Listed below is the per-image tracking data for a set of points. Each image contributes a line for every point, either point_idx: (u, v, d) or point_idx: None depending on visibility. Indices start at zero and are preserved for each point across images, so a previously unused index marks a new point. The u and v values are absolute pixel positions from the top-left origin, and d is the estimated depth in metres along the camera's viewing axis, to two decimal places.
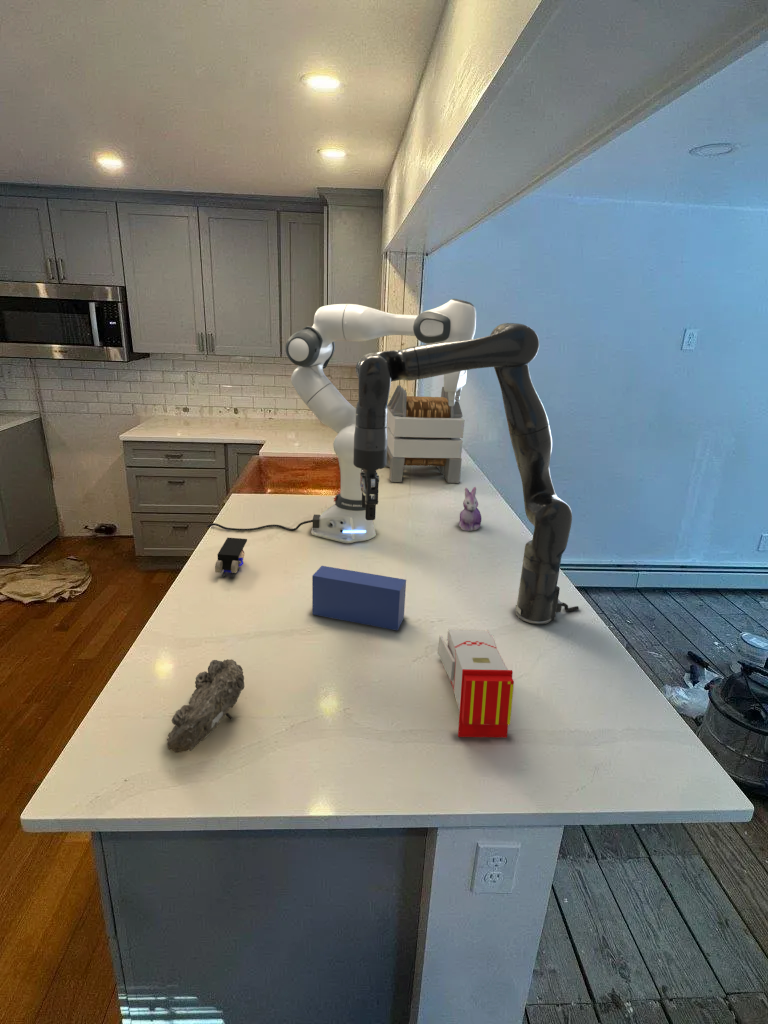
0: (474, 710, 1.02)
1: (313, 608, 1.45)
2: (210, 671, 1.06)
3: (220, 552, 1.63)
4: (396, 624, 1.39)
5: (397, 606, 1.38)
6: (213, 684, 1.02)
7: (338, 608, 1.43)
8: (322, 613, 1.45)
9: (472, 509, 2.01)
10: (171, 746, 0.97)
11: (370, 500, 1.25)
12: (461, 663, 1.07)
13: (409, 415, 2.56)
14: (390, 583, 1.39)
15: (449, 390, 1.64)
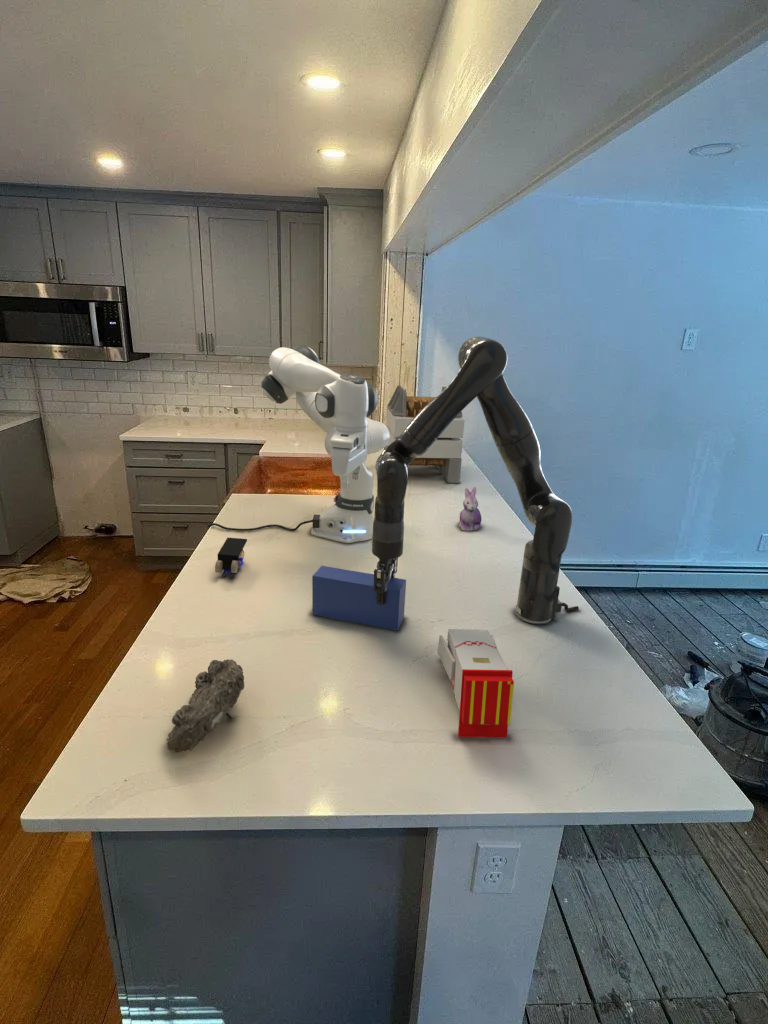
0: (474, 710, 1.02)
1: (313, 608, 1.45)
2: (210, 671, 1.06)
3: (220, 552, 1.63)
4: (396, 624, 1.39)
5: (397, 606, 1.38)
6: (213, 684, 1.02)
7: (338, 608, 1.43)
8: (322, 613, 1.45)
9: (472, 509, 2.01)
10: (171, 746, 0.97)
11: (377, 588, 1.34)
12: (461, 663, 1.07)
13: (409, 415, 2.56)
14: (390, 583, 1.39)
15: (338, 475, 1.50)
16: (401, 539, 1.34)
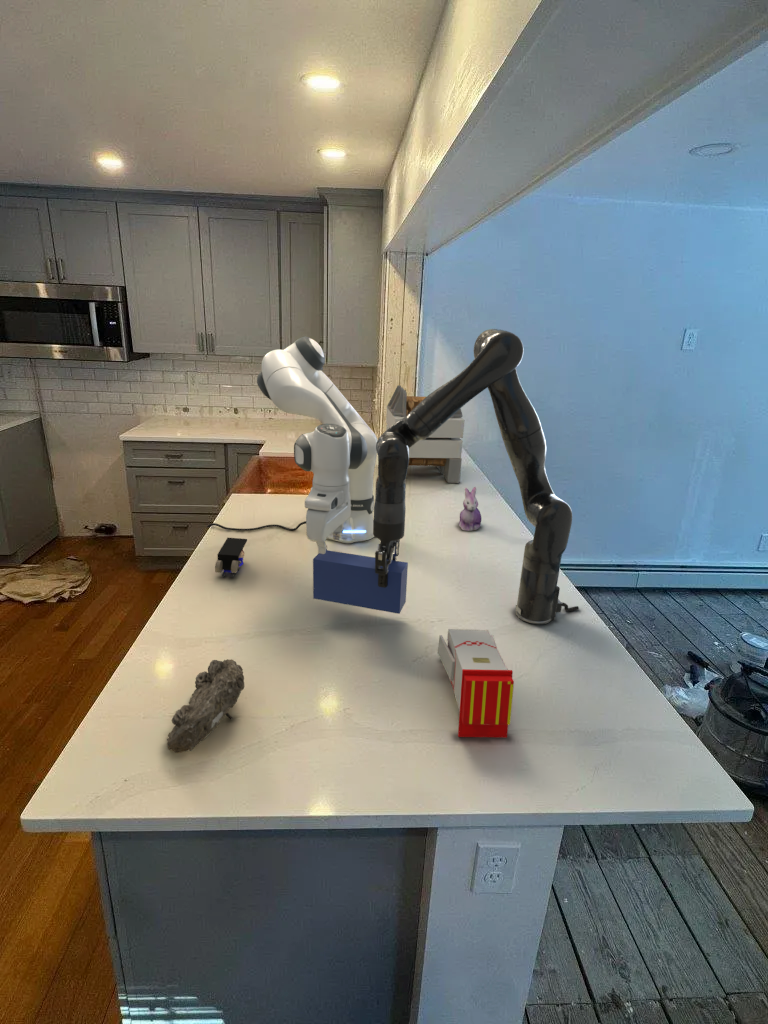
0: (474, 710, 1.02)
1: (314, 592, 1.43)
2: (210, 671, 1.06)
3: (220, 552, 1.63)
4: (398, 607, 1.38)
5: (399, 589, 1.36)
6: (213, 684, 1.02)
7: (339, 592, 1.41)
8: (323, 597, 1.43)
9: (472, 509, 2.01)
10: (171, 746, 0.97)
11: (378, 570, 1.33)
12: (461, 663, 1.07)
13: None
14: (391, 566, 1.38)
15: (314, 540, 1.31)
16: (402, 520, 1.33)
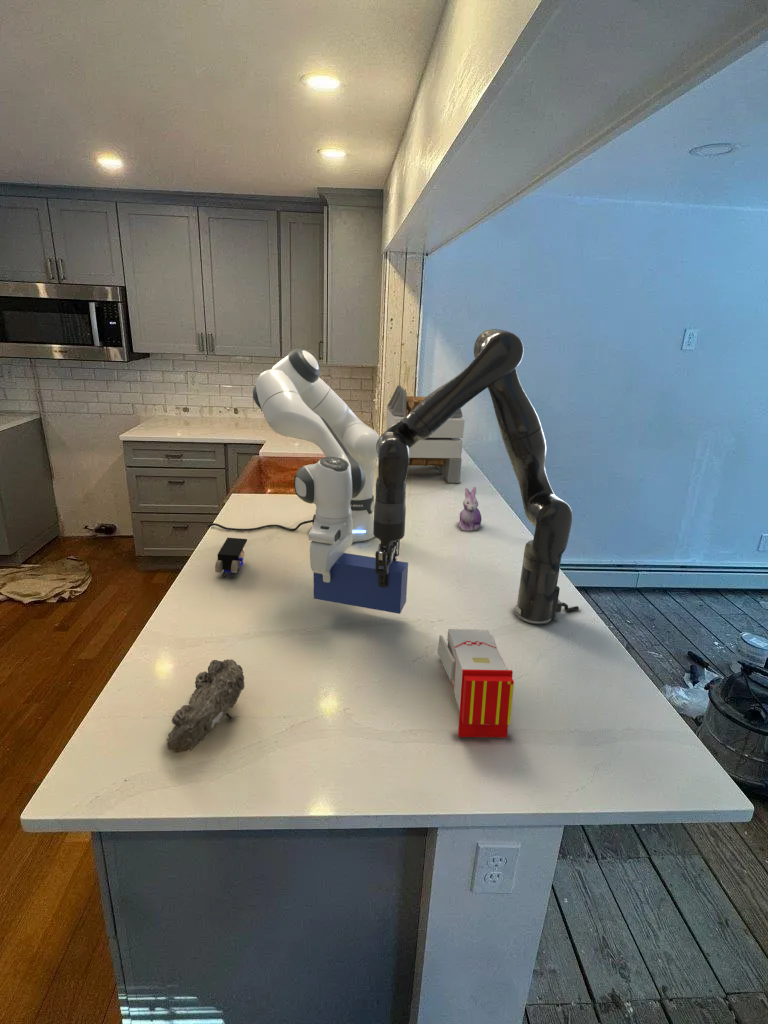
0: (474, 710, 1.02)
1: (314, 592, 1.43)
2: (210, 671, 1.06)
3: (220, 552, 1.63)
4: (398, 607, 1.38)
5: (399, 589, 1.36)
6: (213, 684, 1.02)
7: (340, 592, 1.41)
8: (323, 597, 1.43)
9: (472, 509, 2.01)
10: (171, 746, 0.97)
11: (378, 570, 1.33)
12: (461, 663, 1.07)
13: None
14: (391, 566, 1.38)
15: (317, 572, 1.33)
16: (403, 520, 1.33)
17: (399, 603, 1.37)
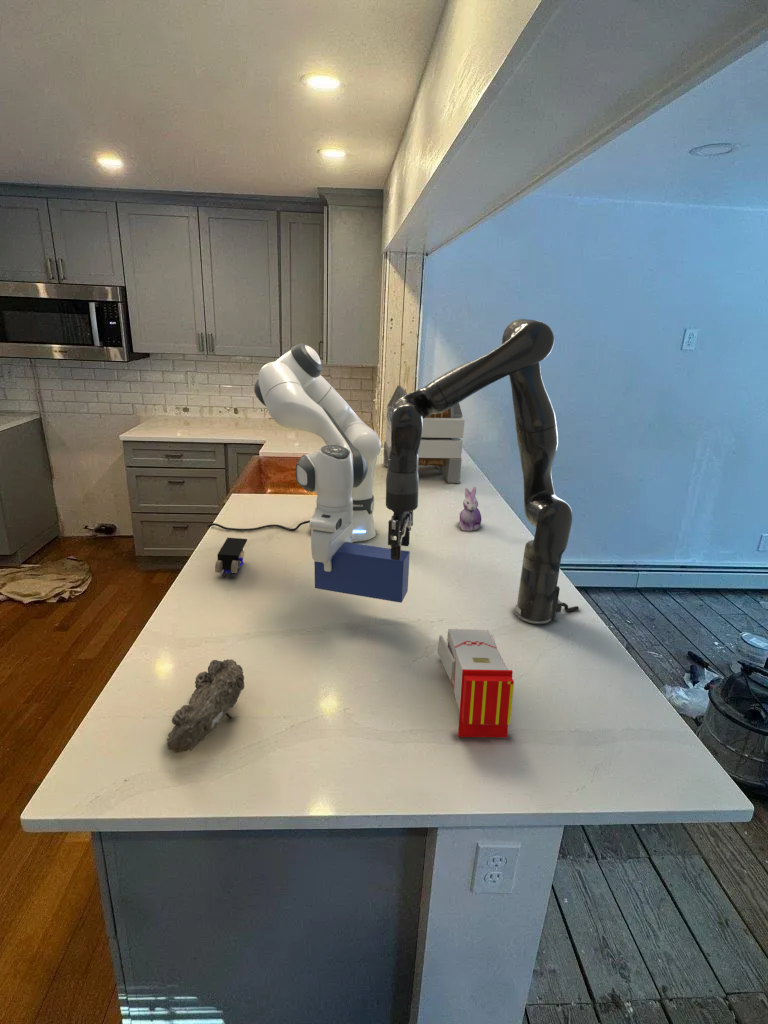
0: (474, 710, 1.02)
1: (315, 582, 1.42)
2: (210, 671, 1.06)
3: (220, 552, 1.63)
4: (400, 596, 1.37)
5: (401, 577, 1.35)
6: (213, 684, 1.02)
7: (341, 581, 1.40)
8: (324, 586, 1.42)
9: (472, 509, 2.01)
10: (171, 746, 0.97)
11: (391, 541, 1.29)
12: (461, 663, 1.07)
13: None
14: None
15: (319, 561, 1.32)
16: (416, 491, 1.29)
17: (401, 592, 1.37)
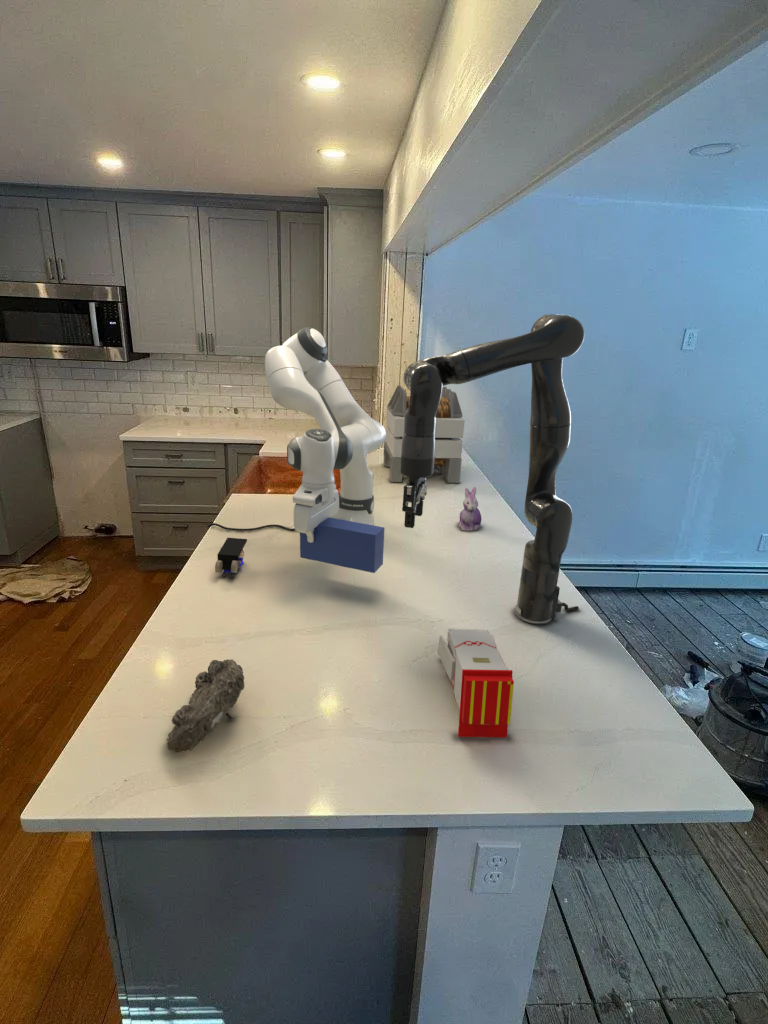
0: (474, 710, 1.02)
1: (300, 552, 1.59)
2: (210, 671, 1.06)
3: (220, 552, 1.63)
4: (373, 567, 1.52)
5: (373, 550, 1.50)
6: (213, 684, 1.02)
7: (322, 552, 1.57)
8: (308, 556, 1.59)
9: (472, 509, 2.01)
10: (171, 746, 0.97)
11: (406, 507, 1.25)
12: (461, 663, 1.07)
13: None
14: (368, 529, 1.52)
15: (300, 531, 1.49)
16: (432, 456, 1.26)
17: (373, 563, 1.52)
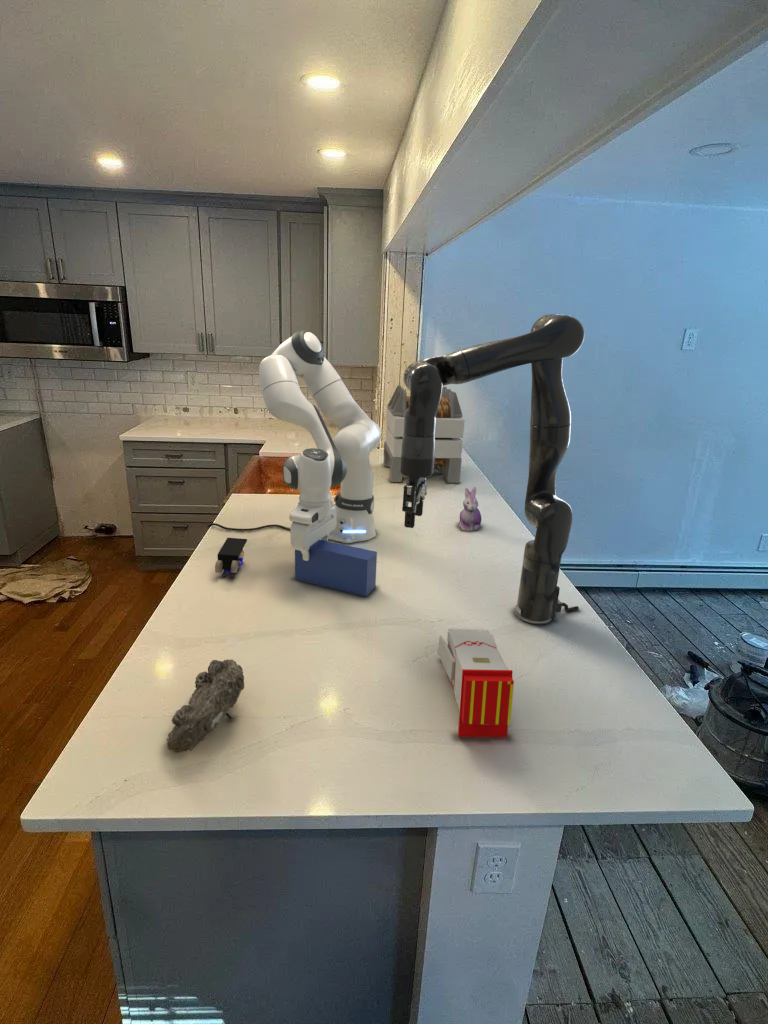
0: (474, 710, 1.02)
1: (295, 573, 1.63)
2: (210, 671, 1.06)
3: (220, 552, 1.63)
4: (365, 591, 1.55)
5: (365, 574, 1.53)
6: (213, 684, 1.02)
7: (316, 574, 1.60)
8: (303, 578, 1.62)
9: (472, 509, 2.01)
10: (171, 746, 0.97)
11: (406, 507, 1.25)
12: (461, 663, 1.07)
13: None
14: (360, 554, 1.55)
15: (297, 549, 1.52)
16: (432, 456, 1.26)
17: (365, 587, 1.55)
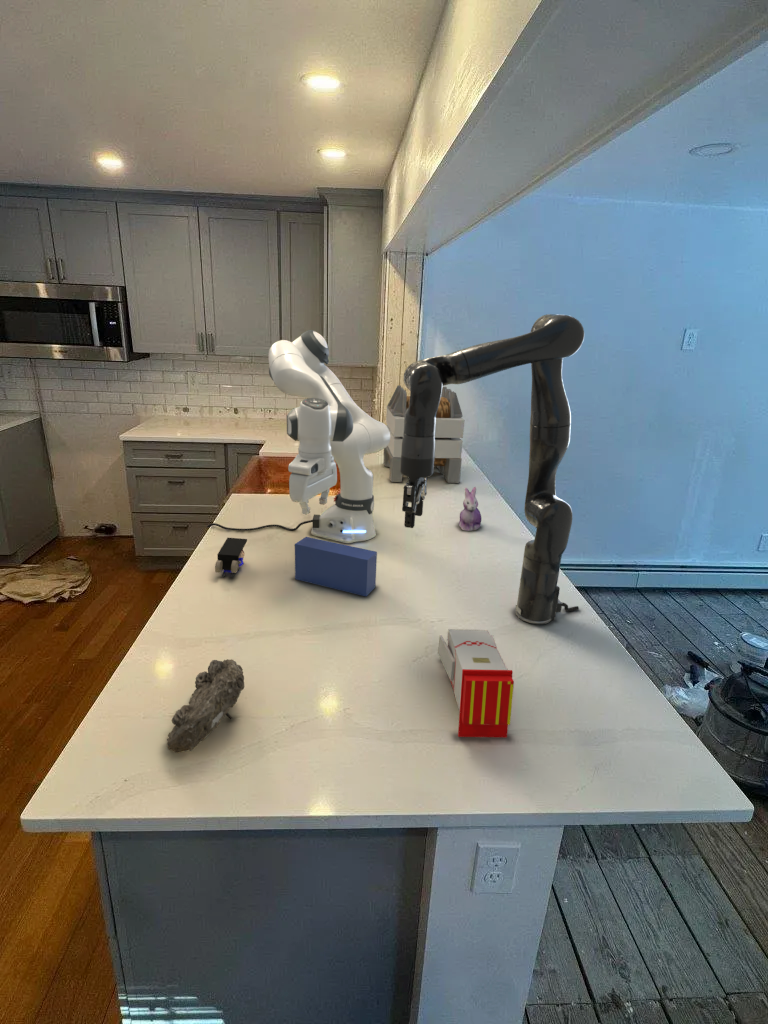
0: (474, 710, 1.02)
1: (295, 573, 1.63)
2: (210, 671, 1.06)
3: (220, 552, 1.63)
4: (365, 591, 1.55)
5: (365, 574, 1.53)
6: (213, 684, 1.02)
7: (316, 574, 1.60)
8: (303, 578, 1.62)
9: (472, 509, 2.01)
10: (171, 746, 0.97)
11: (406, 507, 1.25)
12: (461, 663, 1.07)
13: None
14: (360, 554, 1.55)
15: (295, 501, 1.47)
16: (432, 456, 1.26)
17: (365, 587, 1.55)
